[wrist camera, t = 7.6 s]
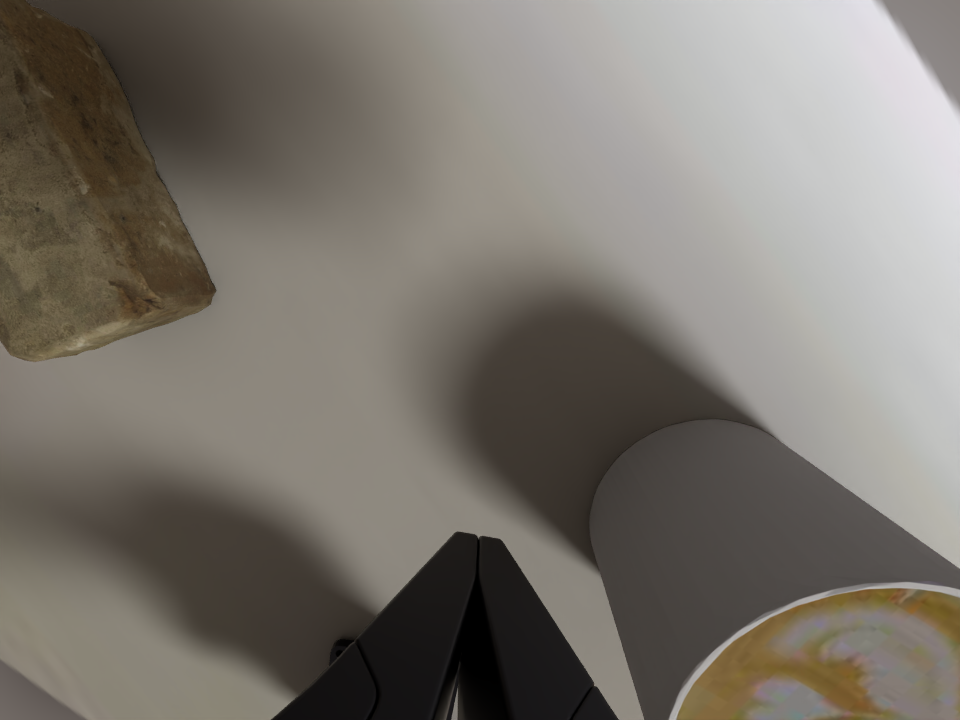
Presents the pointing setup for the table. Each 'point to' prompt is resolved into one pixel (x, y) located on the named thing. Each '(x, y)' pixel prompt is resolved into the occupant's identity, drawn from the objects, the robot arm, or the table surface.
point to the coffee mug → (768, 586)
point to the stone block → (80, 201)
